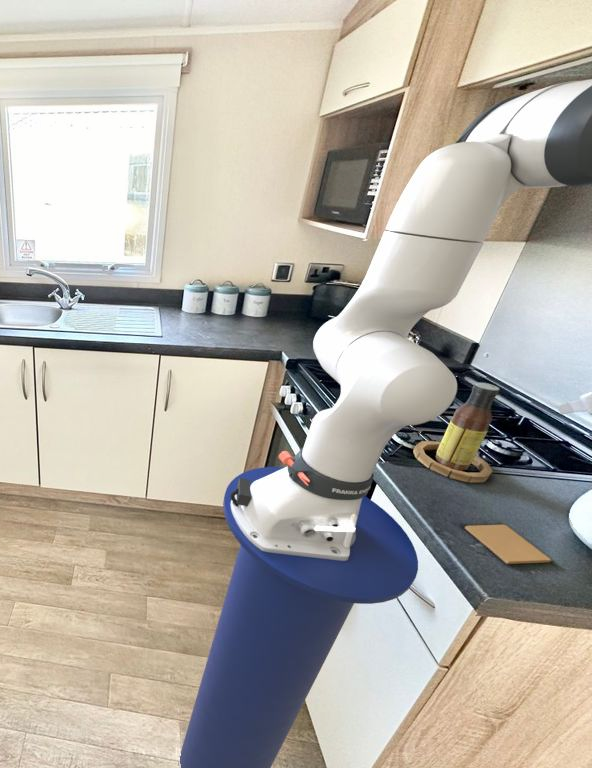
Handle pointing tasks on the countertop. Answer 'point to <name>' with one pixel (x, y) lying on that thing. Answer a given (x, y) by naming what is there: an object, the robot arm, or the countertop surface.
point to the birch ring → (446, 471)
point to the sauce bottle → (467, 428)
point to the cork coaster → (507, 544)
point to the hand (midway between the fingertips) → (572, 404)
